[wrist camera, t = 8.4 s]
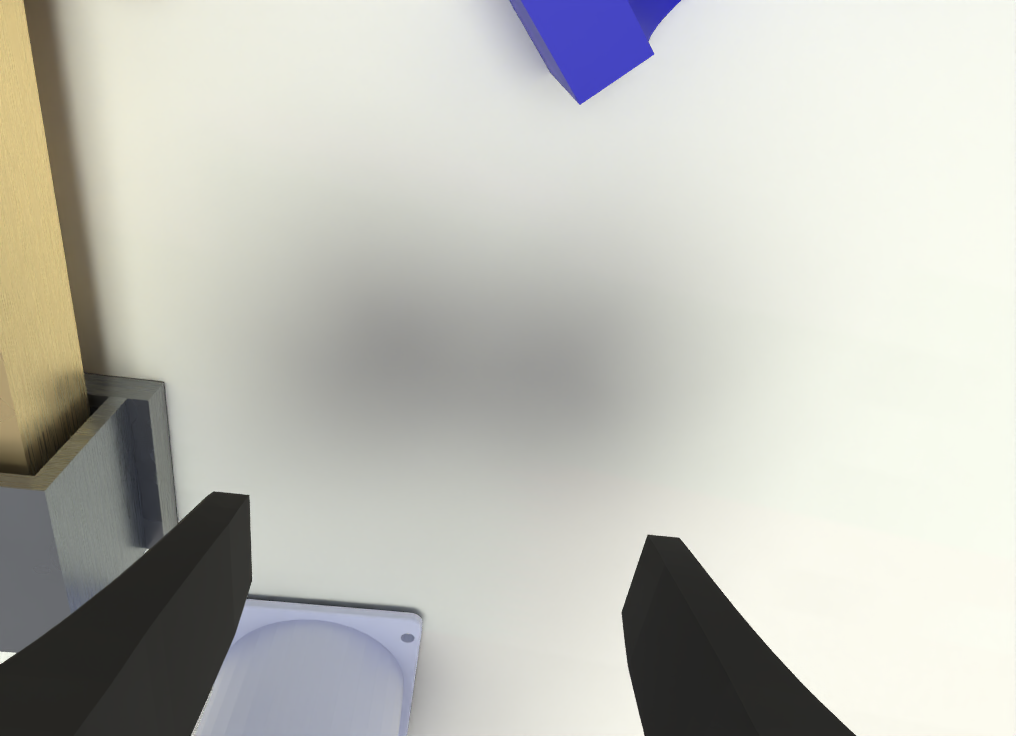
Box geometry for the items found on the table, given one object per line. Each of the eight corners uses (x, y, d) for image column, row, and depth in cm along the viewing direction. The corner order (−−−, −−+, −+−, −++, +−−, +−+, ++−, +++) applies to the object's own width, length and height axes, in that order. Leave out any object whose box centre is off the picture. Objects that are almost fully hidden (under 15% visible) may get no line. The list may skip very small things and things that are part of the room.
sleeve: (178, 527, 24) (102, 658, 19) (-3, 510, 23) (-127, 641, 18) (163, 382, 21) (70, 493, 16) (-42, 358, 20) (-202, 467, 16)
